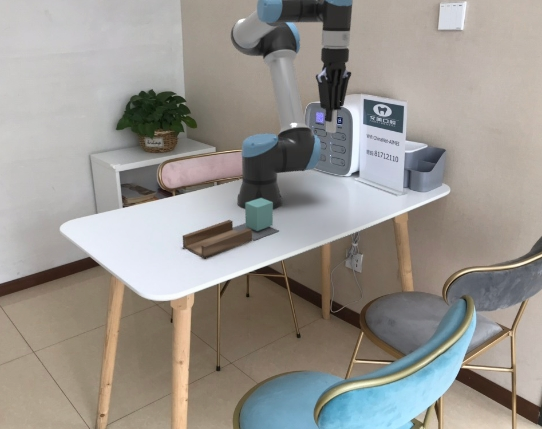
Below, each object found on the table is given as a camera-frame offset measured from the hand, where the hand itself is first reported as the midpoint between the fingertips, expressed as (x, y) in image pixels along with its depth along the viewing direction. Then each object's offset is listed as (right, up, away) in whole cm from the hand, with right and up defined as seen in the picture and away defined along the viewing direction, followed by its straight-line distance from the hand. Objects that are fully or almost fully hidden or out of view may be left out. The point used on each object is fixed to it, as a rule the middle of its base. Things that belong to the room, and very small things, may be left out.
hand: (330, 132), depth 155 cm
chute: (-32, -32, -2) cm, 46 cm away
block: (-21, -28, +8) cm, 36 cm away
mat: (-22, -29, +7) cm, 37 cm away
